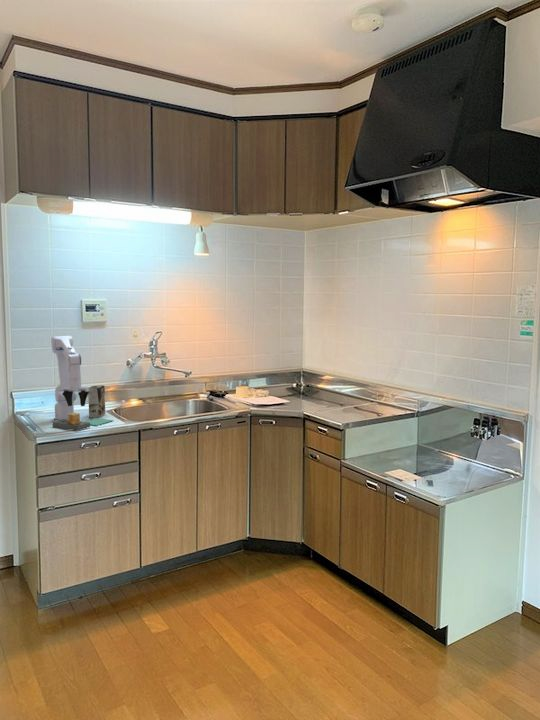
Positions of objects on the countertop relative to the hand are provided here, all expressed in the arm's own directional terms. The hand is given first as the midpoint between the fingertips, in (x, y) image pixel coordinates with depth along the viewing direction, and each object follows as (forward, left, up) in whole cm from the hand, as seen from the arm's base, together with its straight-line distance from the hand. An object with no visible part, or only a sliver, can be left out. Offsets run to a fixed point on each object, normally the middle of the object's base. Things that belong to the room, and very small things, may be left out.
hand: (76, 406), depth 271 cm
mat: (0, +13, -11) cm, 17 cm away
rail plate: (-4, 0, -11) cm, 12 cm away
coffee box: (-11, +25, -11) cm, 29 cm away
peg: (-2, 0, -11) cm, 11 cm away
